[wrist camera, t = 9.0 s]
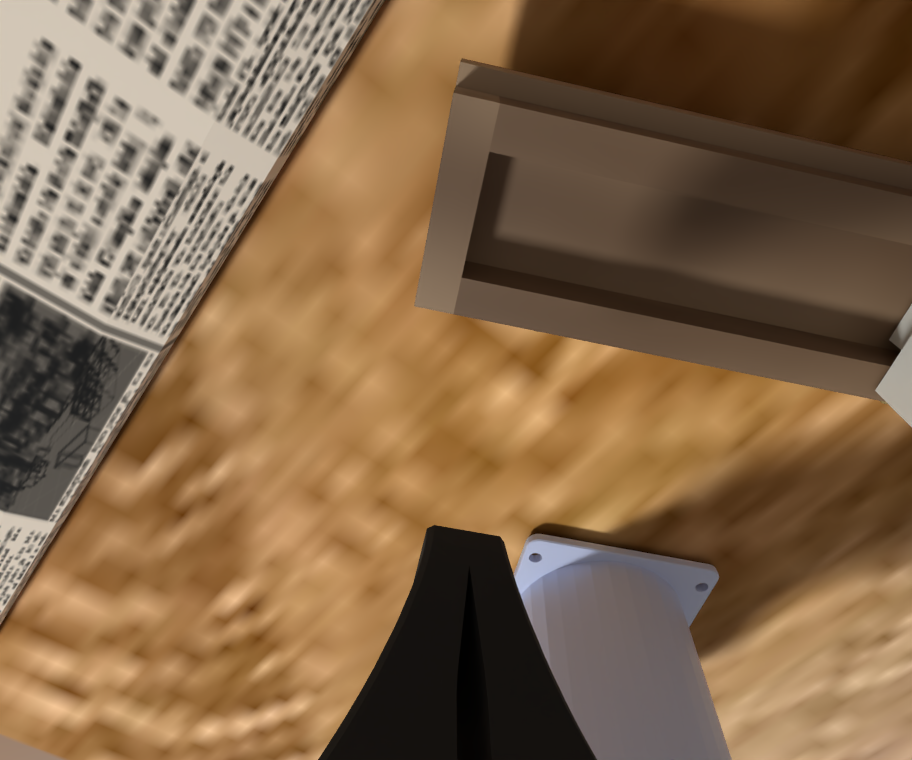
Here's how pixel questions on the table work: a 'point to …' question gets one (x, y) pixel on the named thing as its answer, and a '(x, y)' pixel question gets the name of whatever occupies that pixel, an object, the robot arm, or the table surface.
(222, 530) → the table surface
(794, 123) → the table surface
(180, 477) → the table surface
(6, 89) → the newspaper
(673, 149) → the beam
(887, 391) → the block
